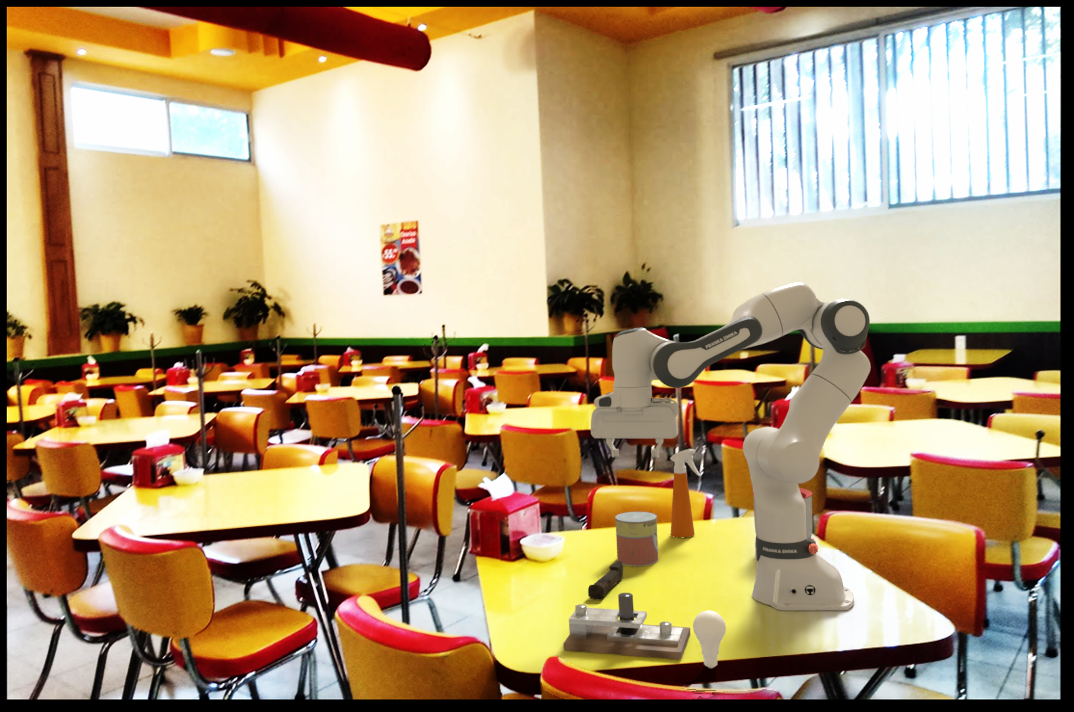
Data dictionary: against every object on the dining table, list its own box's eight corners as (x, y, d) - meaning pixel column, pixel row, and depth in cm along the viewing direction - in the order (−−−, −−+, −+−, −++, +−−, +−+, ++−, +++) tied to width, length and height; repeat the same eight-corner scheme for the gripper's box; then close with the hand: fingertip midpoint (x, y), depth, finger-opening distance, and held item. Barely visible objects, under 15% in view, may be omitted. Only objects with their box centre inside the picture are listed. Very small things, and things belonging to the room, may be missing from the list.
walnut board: (690, 634, 181) (690, 627, 181) (681, 659, 169) (680, 652, 169) (580, 626, 189) (579, 619, 188) (563, 650, 176) (563, 643, 176)
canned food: (658, 566, 228) (656, 521, 227) (615, 566, 230) (613, 522, 229) (659, 553, 239) (657, 511, 238) (618, 553, 241) (616, 511, 240)
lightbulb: (722, 660, 168) (720, 604, 167) (730, 673, 162) (728, 616, 161) (691, 662, 168) (689, 606, 167) (698, 675, 161) (696, 618, 161)
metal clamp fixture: (683, 632, 178) (682, 606, 178) (678, 645, 172) (677, 618, 172) (578, 625, 185) (577, 600, 185) (569, 637, 179) (568, 611, 178)
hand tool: (603, 602, 204) (602, 582, 204) (587, 600, 206) (587, 581, 206) (632, 577, 221) (631, 560, 220) (617, 576, 223) (617, 558, 222)
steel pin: (636, 632, 179) (634, 593, 178) (632, 638, 177) (630, 598, 176) (623, 630, 181) (620, 592, 180) (618, 637, 178) (616, 597, 177)
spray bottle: (694, 541, 249) (691, 451, 247) (665, 535, 257) (662, 448, 255) (709, 536, 254) (706, 448, 252) (680, 530, 262) (677, 444, 260)
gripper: (679, 396, 200) (681, 455, 201) (594, 397, 206) (596, 454, 207) (675, 399, 194) (677, 460, 195) (587, 400, 200) (590, 459, 201)
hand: (635, 457), depth 201 cm, fingers open, 8 cm apart
